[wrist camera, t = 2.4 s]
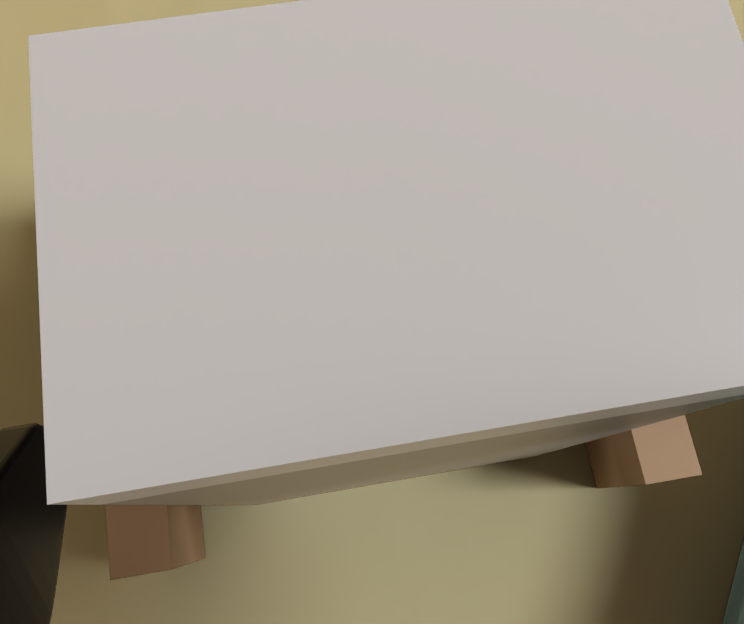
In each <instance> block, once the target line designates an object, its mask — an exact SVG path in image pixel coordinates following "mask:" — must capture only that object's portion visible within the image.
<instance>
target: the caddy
mask: <svg viewBox="0 0 744 624" xmlns="http://www.w3.org/2000/svg"><path fill="white" fill-rule="evenodd" d="M28 38H29V63H30V89H31V114H32V139H33V164H34V189H35V215H36V240H37V265H38V290H39V315H40V341H41V366H42V391H43V416H44V442H45V467H46V492H47V505H259V504H264V503H270V502H276V501H282V500H287V499H293V498H299V497H305V496H310V495H316V494H322V493H328V492H333V491H339V490H345V489H351V488H356V487H362V486H368V485H374V484H379V483H385V482H391V481H397V480H402V479H408V478H414V477H420V476H425V475H431V474H437V473H443V472H448V471H454V470H460V469H466V468H471V467H477V466H483V465H489V464H494V463H500V462H506V461H512V460H517V459H523V458H529V457H535V456H539V455H542V454H546V453H549V452H553V451H557V450H560V449H564V448H567V447H571V446H575V445H578V444H582V443H585V442H589V441H593V440H596V439H600V438H603V437H607V436H610V435H614V434H618V433H621V432H625V431H628V430H632V429H636V428H639V427H643V426H646V425H650V424H654V423H657V422H661V421H664V420H668V419H672V418H675V417H679V416H682V415H686V414H690V413H693V412H697V411H700V410H704V409H708V408H711V407H715V406H718V405H722V404H726V403H729V402H733V401H736V400H740V399H744V43H743V40H742V38H741V35H740V32H739V29H738V27H737V24H736V21H735V19H734V16H733V13H732V10H731V8H730V5H729V2H728V0H302V1H295V2H287V3H279V4H271V5H263V6H256V7H248V8H240V9H232V10H225V11H217V12H209V13H201V14H193V15H186V16H178V17H170V18H162V19H155V20H147V21H139V22H131V23H123V24H116V25H108V26H100V27H92V28H85V29H77V30H69V31H61V32H53V33H46V34H38V35H30V36H28Z"/></svg>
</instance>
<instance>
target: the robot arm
mask: <svg viewBox="0 0 744 624" xmlns="http://www.w3.org/2000/svg"><path fill="white" fill-rule="evenodd" d="M66 510H67V505H47V492H46V467H45V442H44V427H43V426H41V425H39V424H37V423H33V424H27V425H21V426H14V427H8V428H4V429H2V430H0V624H50V620H51V615H52V610H53V604H54V598H55V591H56V584H57V576H58V569H59V561H60V554H61V547H62V539H63V532H64V525H65V517H66Z"/></svg>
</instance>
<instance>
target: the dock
mask: <svg viewBox="0 0 744 624" xmlns="http://www.w3.org/2000/svg"><path fill="white" fill-rule="evenodd" d="M585 443H586V447H587V451H588V455H589V459H590V463H591V467H592V471H593V475H594V479H595V483H596V487H597V488H607V487H621V486H635V485H647V484H653V483H658V482H664V481H670V480H675V479H681V478H686V477H692V476H698V475H702V472H701V468H700V465H699V462H698V458H697V455H696V451H695V448H694V444H693V441H692V437H691V434H690V431H689V427H688V424H687V420H686V417H685V415H682V416H679V417H675V418H672V419H668V420H664V421H661V422H657V423H654V424H650V425H646V426H643V427H639V428H636V429H632V430H628V431H625V432H621V433H618V434H614V435H610V436H607V437H603V438H600V439H596V440H593V441H589V442H585ZM105 507H106V523H107V539H108V555H109V572H110V580H115V579H120V578H126V577H131V576H137V575H143V574H148V573H154V572H159V571H165V570H171V569H174V568H177V567H180V566H183V565H186V564H189V563H192V562H195V561H198V560H201V559H204V558H206V557H205V547H204V536H203V526H202V516H201V506H200V505H105Z"/></svg>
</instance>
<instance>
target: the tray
mask: <svg viewBox="0 0 744 624" xmlns="http://www.w3.org/2000/svg"><path fill="white" fill-rule="evenodd" d="M723 624H744V540H743V544H742V548H741V552H740V556H739V560H738V564H737V568H736V572H735V576H734V580H733V584H732V588H731V592H730V596H729V600H728V604H727V608H726V612H725V616H724V620H723Z"/></svg>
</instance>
